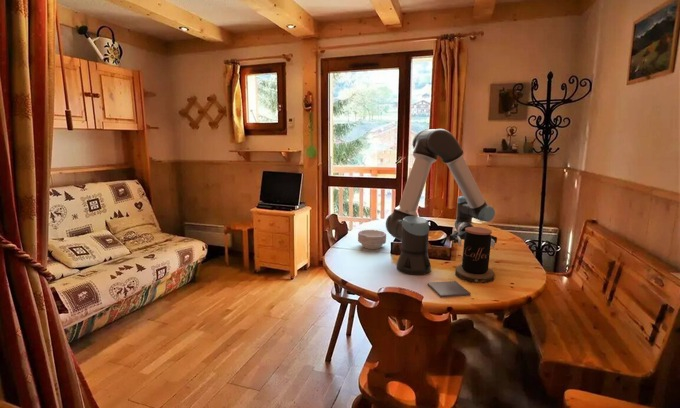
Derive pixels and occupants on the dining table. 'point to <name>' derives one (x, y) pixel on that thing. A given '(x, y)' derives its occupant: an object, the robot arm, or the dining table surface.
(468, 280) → the grey round disc
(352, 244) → the dining table surface
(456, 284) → the slate coaster
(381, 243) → the paper bowls
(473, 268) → the coffee jar
